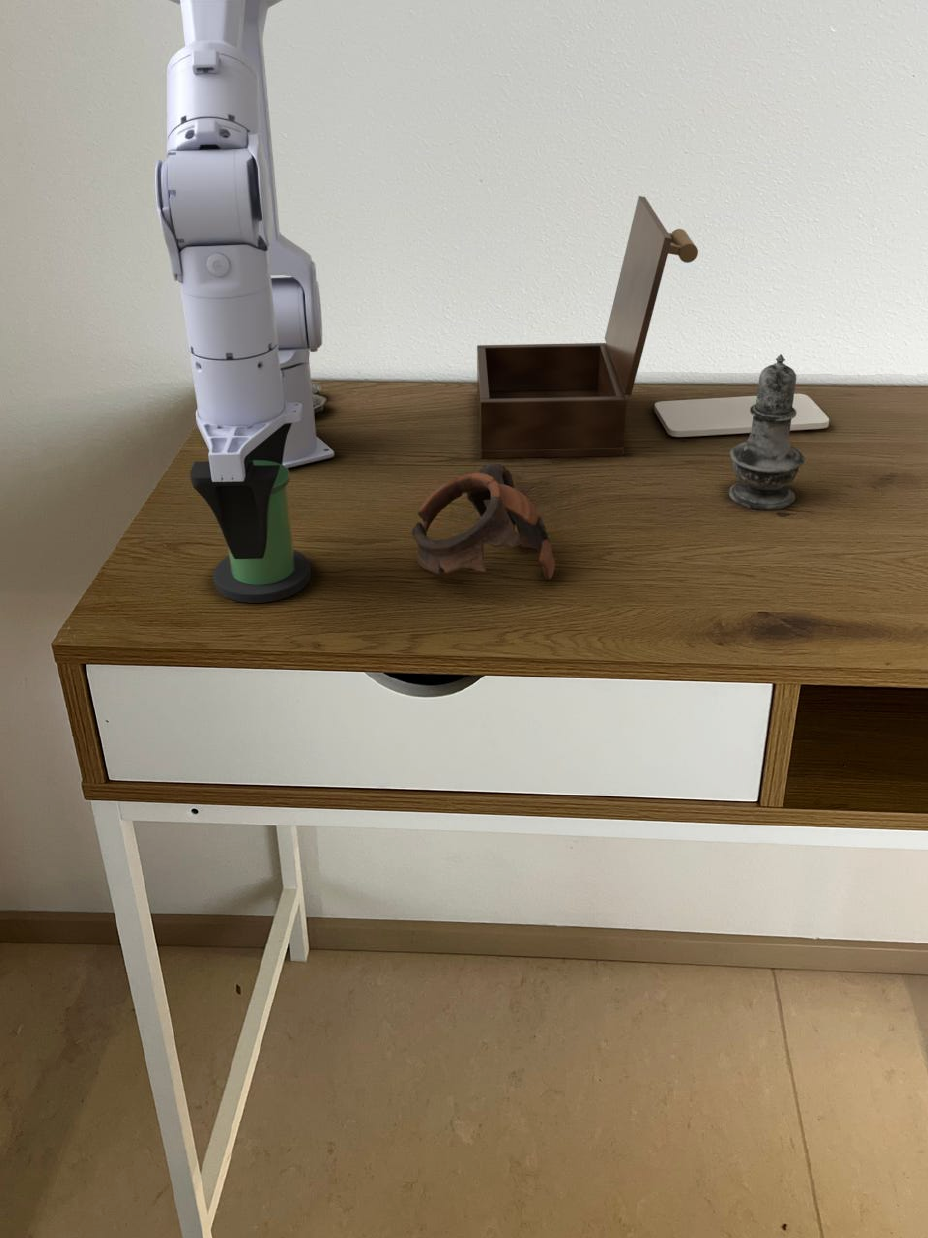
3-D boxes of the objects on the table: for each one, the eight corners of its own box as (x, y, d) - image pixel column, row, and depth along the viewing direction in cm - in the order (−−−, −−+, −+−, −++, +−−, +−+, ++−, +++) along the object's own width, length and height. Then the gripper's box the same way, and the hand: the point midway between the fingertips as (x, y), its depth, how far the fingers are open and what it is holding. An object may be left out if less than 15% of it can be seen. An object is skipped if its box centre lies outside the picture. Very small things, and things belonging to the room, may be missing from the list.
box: (481, 458, 101) (480, 402, 98) (477, 396, 113) (476, 344, 110) (623, 456, 101) (627, 399, 98) (604, 394, 113) (607, 342, 110)
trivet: (204, 602, 81) (202, 593, 81) (227, 554, 87) (225, 545, 87) (301, 604, 81) (300, 595, 80) (318, 555, 87) (317, 546, 86)
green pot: (217, 563, 84) (203, 470, 80) (283, 545, 86) (272, 454, 82) (242, 594, 80) (228, 498, 76) (310, 575, 83) (300, 481, 79)
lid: (664, 237, 91) (715, 245, 91) (638, 195, 103) (683, 203, 104) (624, 394, 98) (671, 402, 98) (604, 338, 110) (646, 345, 111)
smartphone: (652, 401, 110) (805, 392, 110) (651, 408, 110) (804, 399, 111) (670, 431, 103) (832, 422, 104) (670, 439, 104) (831, 429, 105)
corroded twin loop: (320, 388, 115) (319, 378, 115) (330, 417, 109) (329, 407, 108) (270, 392, 115) (269, 382, 114) (277, 423, 108) (276, 412, 107)
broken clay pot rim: (564, 607, 81) (511, 529, 76) (448, 644, 85) (390, 572, 79) (565, 494, 89) (517, 417, 84) (459, 532, 93) (407, 461, 87)
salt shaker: (804, 486, 95) (827, 347, 89) (790, 517, 91) (812, 372, 84) (734, 475, 97) (751, 337, 91) (717, 503, 93) (733, 361, 86)
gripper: (281, 385, 68) (302, 580, 76) (306, 309, 80) (322, 484, 88) (163, 387, 68) (195, 582, 76) (206, 311, 80) (230, 486, 88)
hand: (257, 530), depth 82 cm, fingers open, 7 cm apart
